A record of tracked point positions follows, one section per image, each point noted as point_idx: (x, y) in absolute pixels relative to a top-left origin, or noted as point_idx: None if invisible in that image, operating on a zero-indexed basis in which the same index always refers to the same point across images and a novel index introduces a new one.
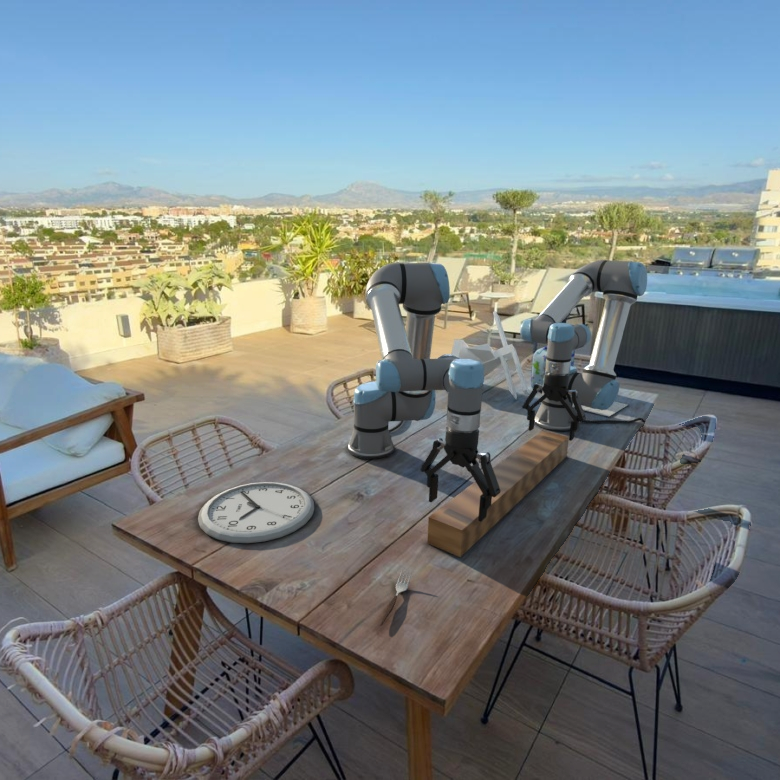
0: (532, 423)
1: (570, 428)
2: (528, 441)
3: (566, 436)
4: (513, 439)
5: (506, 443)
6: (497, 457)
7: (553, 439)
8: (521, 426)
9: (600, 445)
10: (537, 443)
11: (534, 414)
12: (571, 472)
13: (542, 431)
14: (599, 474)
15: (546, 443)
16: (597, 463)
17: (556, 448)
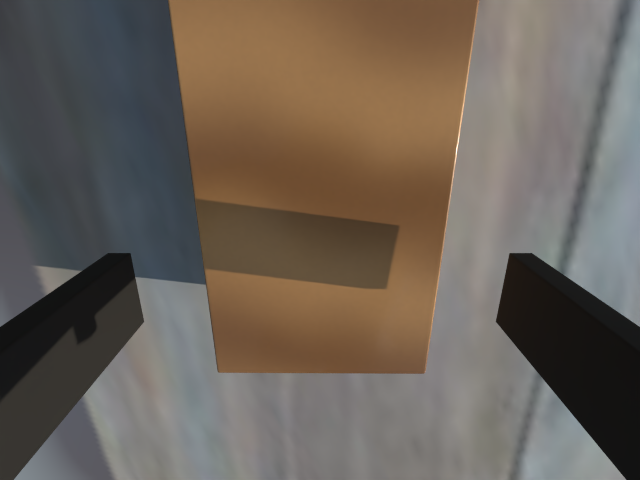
0: (543, 319)
1: (35, 320)
2: (466, 53)
3: (234, 367)
4: None
5: (590, 256)
6: (610, 3)
7: (286, 256)
8: (554, 473)
9: (187, 475)
10: (370, 62)
11: (609, 433)
12: (129, 104)
13: (419, 353)
14: (12, 184)
15: (297, 123)
16: None
17: (181, 83)
